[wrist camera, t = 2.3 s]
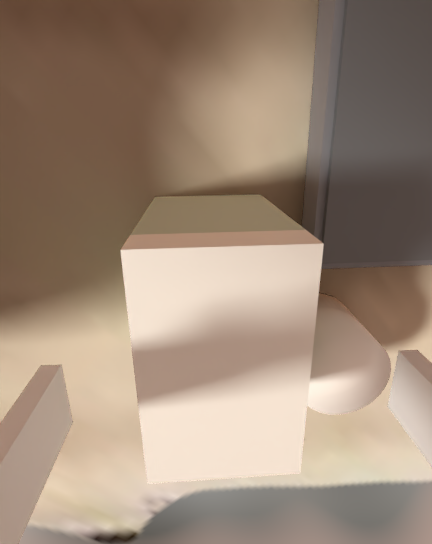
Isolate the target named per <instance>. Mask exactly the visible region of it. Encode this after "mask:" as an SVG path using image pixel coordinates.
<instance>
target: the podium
mask: <svg viewBox="0 0 432 544" xmlns="http://www.w3.org/2000/svg"><path fill="white" fill-rule="evenodd" d="M302 227H303V228H304V229H306V230H307V231H308V232H309V233H311V234H312V235H313V236H315V237H316V238H317V239H318V240H320V241H321V242H322V243H324V246H323V256H322V266H321V269H332V268H360V267H389V266H417V265H432V0H319V8H318V21H317V34H316V47H315V60H314V73H313V87H312V100H311V113H310V126H309V139H308V152H307V165H306V178H305V191H304V204H303V217H302Z"/></svg>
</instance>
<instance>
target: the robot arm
mask: <svg viewBox="0 0 432 544" xmlns="http://www.w3.org/2000/svg"><path fill="white" fill-rule="evenodd" d="M387 407H388V408H389V409H390V411H391V412H392V413H393V415H394V416H395V418H396V419H397V420H398V422H399V423H400V424H401V426H402V427H403V429H404V430H405V431H406V433H407V434H408V435H409V437H410V438H411V440H412V441H413V442H414V444H415V445H416V446H417V448H418V449H419V451H420V452H421V453H422V455H423V456H424V457H425V459H426V460H427V462H428V463H429V464H430V466H431V467H432V363H431V362H430V361H429V360H428V359H427V358H425V357H424V356H423V355H422V354H421V353H420V352H419V351H418V350H403V351H398V356H397V361H396V366H395V371H394V376H393V381H392V386H391V391H390V396H389V401H388V406H387ZM72 423H73V420H72V415H71V410H70V405H69V400H68V395H67V390H66V385H65V380H64V375H63V370H62V365H41V366H40V367H39V369H38V370H37V372H36V373H35V375H34V376H33V377H32V379H31V380H30V382H29V383H28V385H27V386H26V387H25V389H24V390H23V392H22V393H21V394H20V396H19V397H18V399H17V400H16V402H15V403H14V404H13V406H12V407H11V409H10V410H9V412H8V413H7V414H6V416H5V417H4V419H3V420H2V422H1V423H0V544H19V541H20V539H21V537H22V535H23V533H24V530H25V528H26V526H27V524H28V521H29V519H30V517H31V515H32V512H33V510H34V508H35V506H36V503H37V501H38V499H39V497H40V494H41V492H42V490H43V488H44V485H45V483H46V481H47V479H48V476H49V474H50V472H51V470H52V467H53V465H54V463H55V461H56V459H57V456H58V454H59V452H60V450H61V447H62V445H63V443H64V441H65V438H66V436H67V434H68V432H69V429H70V427H71V425H72Z"/></svg>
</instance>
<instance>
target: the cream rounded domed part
mask: <svg viewBox="0 0 432 544" xmlns="http://www.w3.org/2000/svg"><path fill="white" fill-rule="evenodd" d="M390 372H391V363H390V359H389V356H388V354H387V352H386V350H385V349H384V348H383V347H382V346H381V344H380V343H379V342H378V341H377V340H376V339H375V338H374V337H373V336H372V335H371V334H370V333H369V332H368V331H367V329H366V328H365V327H364V326H363V325H362V324H361V323H360V322H359V321H358V320H357V319H356V318H355V317H354V315H353V314H352V313H351V312H350V311H349V310H348V309H347V308H346V307H345V306H344V305H343V304H342V303H341V302H340V301H339V300H338V299H336V298H334V297H332V296H329V295H326V294H319V295H318V305H317V315H316V325H315V335H314V344H313V354H312V364H311V374H310V384H309V393H308V403H307V406H309V407H310V408H311V409H313V410H315V411H317V412H320V413H324V414H330V415H340V414H347V413H351V412H354V411H357V410H359V409H361V408H363V407H365V406H367V405H368V404H370V403H371V402H372V401H374V400H375V399H376V398H377V397H378V396H379V395H380V394H381V392H382V391H383V390H384V388H385V386H386V385H387V382H388V380H389V377H390Z"/></svg>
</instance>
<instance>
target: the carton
mask: <svg viewBox="0 0 432 544" xmlns="http://www.w3.org/2000/svg"><path fill="white" fill-rule="evenodd" d="M323 246H324V243H322V242H321V241H320V240H318V239H317V238H316V237H315V236H313V235H312V234H311V233H309V232H308V231H307V230H306V229H304V228H303V227H302V226H300V225H299V224H298V223H297V222H295V221H294V220H293V219H291V218H290V217H289V216H288V215H286V214H285V213H284V212H282V211H281V210H280V209H278V208H277V207H276V206H275V205H273V204H272V203H271V202H269V201H268V200H267V199H266V198H264V197H263V196H262V195H260V194H251V195H206V196H161V197H155V198H154V199H153V201H152V202H151V204H150V205H149V207H148V208H147V210H146V211H145V213H144V214H143V216H142V217H141V219H140V220H139V222H138V224H137V225H136V227H135V228H134V230H133V231H132V233H131V234H130V236H129V237H128V239H127V240H126V242H125V243H124V245H123V246H122V248H121V250H120V252H121V260H122V269H123V278H124V286H125V295H126V304H127V313H128V321H129V330H130V339H131V347H132V356H133V365H134V373H135V382H136V391H137V399H138V408H139V417H140V425H141V434H142V443H143V451H144V460H145V469H146V477H147V484H155V483H170V482H184V481H198V480H213V479H227V478H241V477H256V476H270V475H284V474H299V473H300V472H301V462H302V452H303V442H304V433H305V423H306V413H307V403H308V393H309V384H310V374H311V364H312V354H313V344H314V335H315V325H316V315H317V305H318V295H319V285H320V276H321V266H322V256H323Z"/></svg>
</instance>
